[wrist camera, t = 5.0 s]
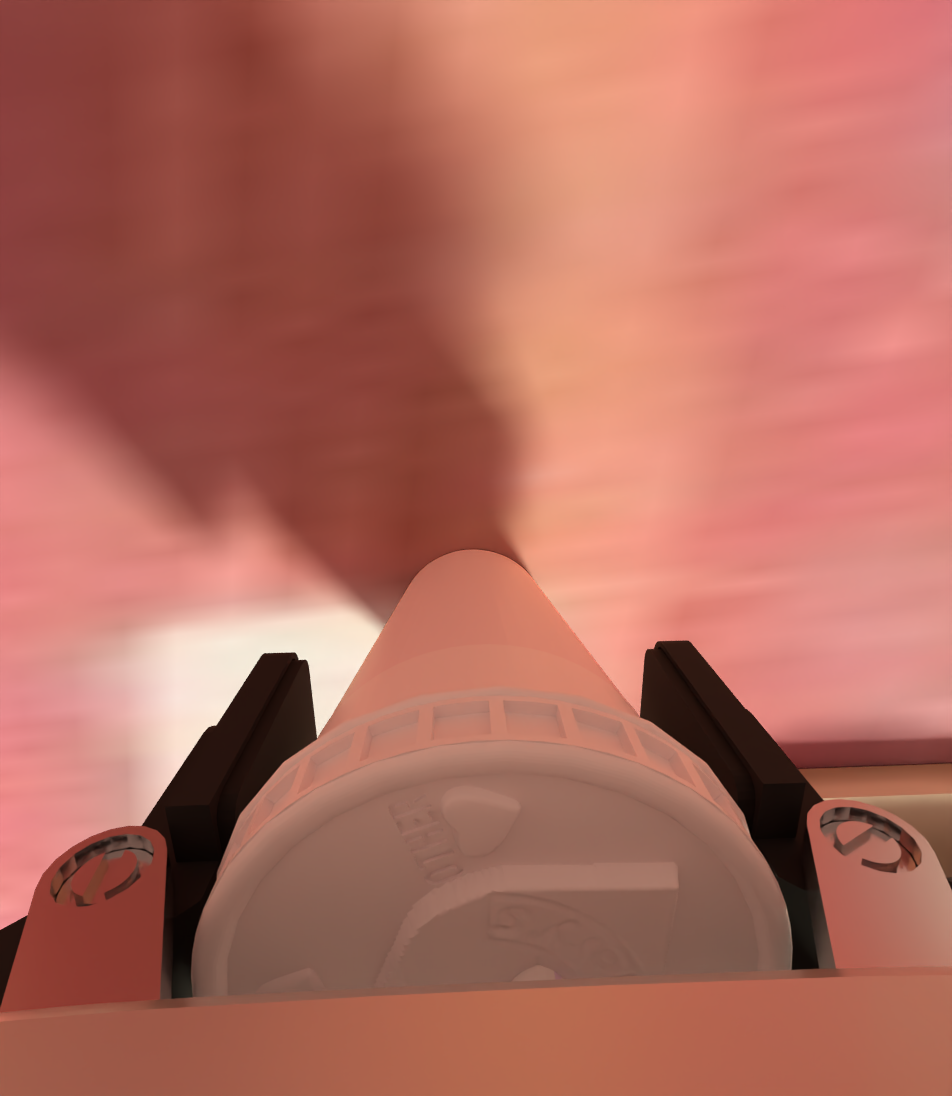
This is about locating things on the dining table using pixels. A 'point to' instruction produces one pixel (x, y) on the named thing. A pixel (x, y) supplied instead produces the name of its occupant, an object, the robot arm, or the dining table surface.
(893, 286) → the dining table surface
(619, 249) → the dining table surface
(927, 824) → the holder
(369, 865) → the smoothie
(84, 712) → the dining table surface
